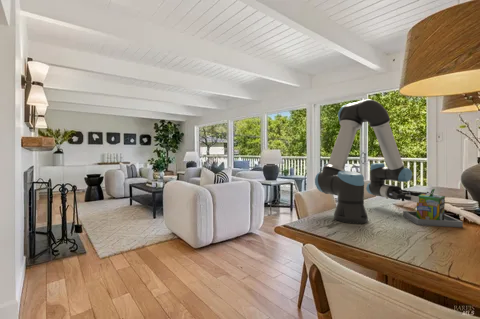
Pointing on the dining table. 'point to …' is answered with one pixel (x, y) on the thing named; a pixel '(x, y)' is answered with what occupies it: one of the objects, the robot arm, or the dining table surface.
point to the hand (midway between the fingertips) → (429, 198)
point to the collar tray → (446, 222)
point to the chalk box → (430, 206)
